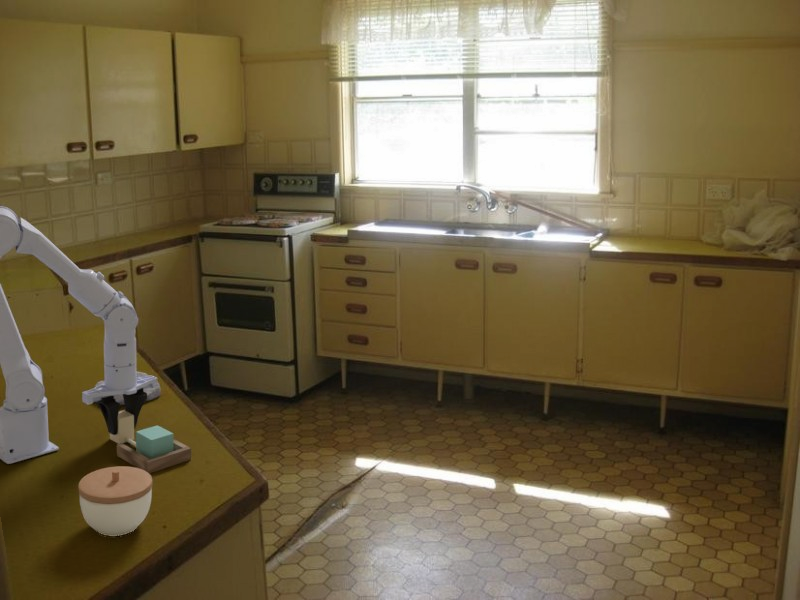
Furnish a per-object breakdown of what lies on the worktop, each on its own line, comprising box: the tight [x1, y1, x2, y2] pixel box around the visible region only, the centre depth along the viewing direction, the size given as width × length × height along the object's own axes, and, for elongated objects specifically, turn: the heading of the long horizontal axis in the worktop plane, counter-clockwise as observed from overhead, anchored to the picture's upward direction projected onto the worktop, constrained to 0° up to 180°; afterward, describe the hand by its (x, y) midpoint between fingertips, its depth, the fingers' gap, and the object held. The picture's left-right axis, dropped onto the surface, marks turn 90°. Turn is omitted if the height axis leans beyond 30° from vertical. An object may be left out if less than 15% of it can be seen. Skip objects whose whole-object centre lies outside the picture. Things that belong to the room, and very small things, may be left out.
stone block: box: [94, 371, 162, 406], centre depth 186 cm, size 12×5×10 cm
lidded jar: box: [78, 465, 154, 536], centre depth 133 cm, size 11×11×9 cm
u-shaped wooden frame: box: [116, 438, 192, 474], centre depth 158 cm, size 10×9×2 cm
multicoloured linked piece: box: [109, 409, 174, 459], centre depth 160 cm, size 15×4×5 cm, turn 48°
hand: (121, 430), depth 164 cm, fingers closed on multicoloured linked piece, 3 cm apart
